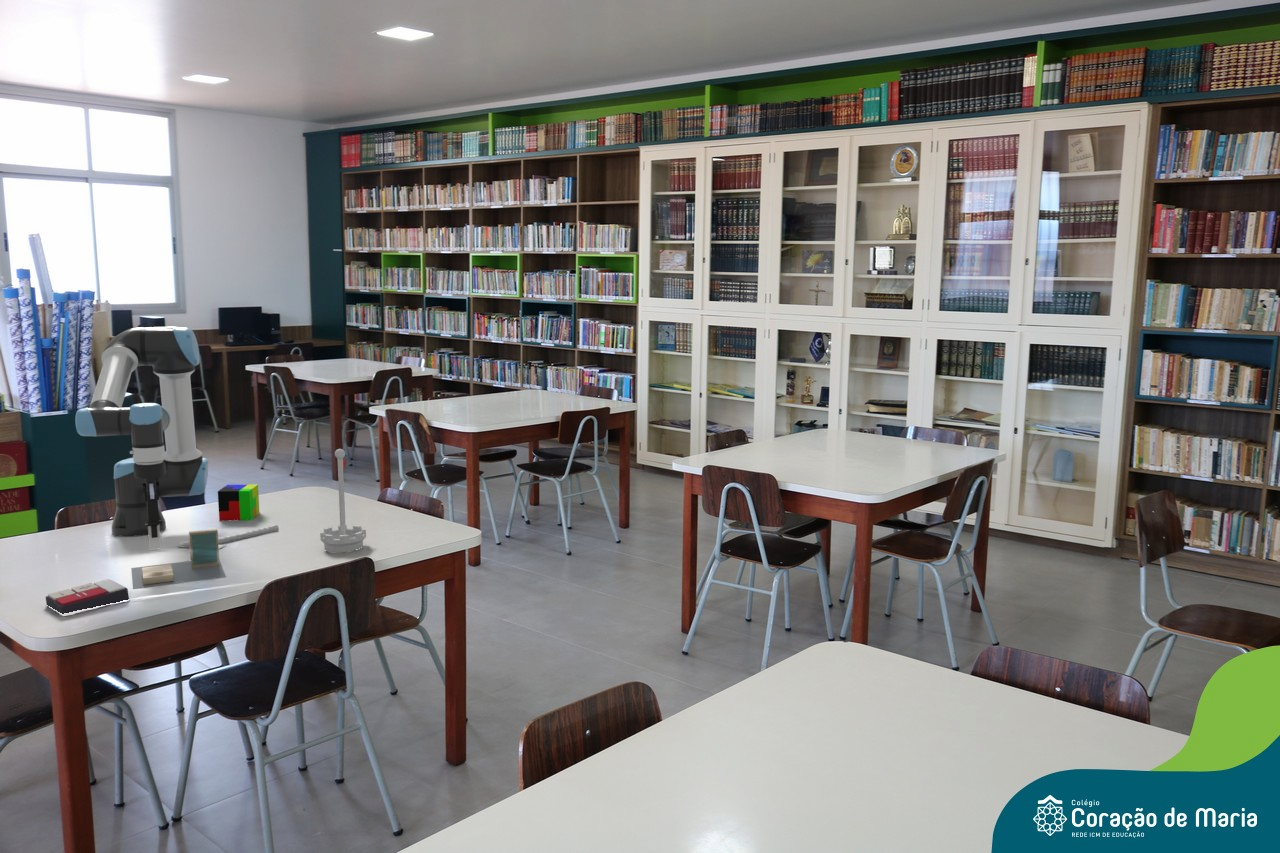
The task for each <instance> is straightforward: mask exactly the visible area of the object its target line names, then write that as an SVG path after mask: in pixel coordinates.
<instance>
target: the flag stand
mask: <svg viewBox="0 0 1280 853" xmlns="http://www.w3.org/2000/svg"><path fill="white" fill-rule="evenodd" d="M345 456H346V451H345V450H344V449H342V448H338V449H336V450H335V451H334V457H335V458H336V459H337V479H338V480H337V482H338V501H339V502H338V504H339V505H338V506H339V525H337V529H333V527H331V526H328V527H324V528H323V530H320V531H319V540H320V541H321V542H322V543H323V544H324V545H323V546H324V548H323V549H324V551H325V550H326V551H325V552H327V551H328V552H327V553H332V552H336V553H335V554H340V553H339V552H346V553H350V552H349V551H353V550H356V549H359V548H361V547H362V546H363V547H364V540H365V539H366V538H367V529H366V527H362V526H361V525H359V524H357V525H356V524H354V525H352V528H348V526H347V524H346V508H345V506H346V505H345V504H346V503H345V502H346V501H345V482H344V481H345V479H344V478H345V476H344V475H345V474H344V469H345V467H346V466H347V464H348V462H347V461H345V460H344V458H345ZM363 547H362V548H363ZM362 548H361V549H362ZM359 550H360V549H359ZM353 552H354V551H353Z"/></svg>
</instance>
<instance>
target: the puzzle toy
mask: <svg viewBox="0 0 1280 853" xmlns="http://www.w3.org/2000/svg"><path fill="white" fill-rule="evenodd" d="M259 495H260V494H259V484H257V483H256V484H226V485H225V486H223V487H222V488H220V489H219V490H218V491H217V504H218V520H219V522H223V521H222V520H224V522H225V521H228V522H229V520H238V521H252V520H253V519H254V518H255V517H257V515H259V514H260V499H259V498H260V497H259Z"/></svg>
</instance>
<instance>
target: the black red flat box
mask: <svg viewBox="0 0 1280 853" xmlns="http://www.w3.org/2000/svg"><path fill="white" fill-rule="evenodd" d="M128 599H129V600H130V596H129V590H128V588H127V587H126V586H123V585H122V584H119V583H118V582H116V581H115V580H113V579H111V578H107V579H104V580H100V581H95V582H94V583H92V582H90V583H85V584H82V585H77V586H74V587H71V588H66V589H63V590H59V591H55V592H51V593H48V594H47V595H46V596H45V602H46V604H45V605H46V606H47V605H48V606H50V607H52V608H53V609H55V610H57V611H58V612H60V613H62V614H64V613H69V612H73V611H77V610H82V609H87V608H93V607H96V606H101V605H106V604H110V603H116V602H120V601H123V600H128Z"/></svg>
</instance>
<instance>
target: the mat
mask: <svg viewBox="0 0 1280 853" xmlns="http://www.w3.org/2000/svg"><path fill="white" fill-rule="evenodd" d="M169 564H171V566H172V571H173V578H174V581H170V582H162V583H154V584H147V585H144V584H143V575H142V568H144V567H153V566H161V565H169ZM130 570H131V581H132V582H131V583H132V590H138V589H145V588H152V587H160V586H169V585H175V584H184V583H192V582H198V581H206V580H207V581H208V580H214V579H215V580H216V579H222V578H226V577H227V576H226V573H225V570H224V568H223V565H222V563H221V560H220V559H219V565H216V566H208V567H200V568H191V560H187V561H179V562H171V563H170V562H169V563H162V564H153V565H145V566H144V565H143V566H137V567H131V569H130Z"/></svg>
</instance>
